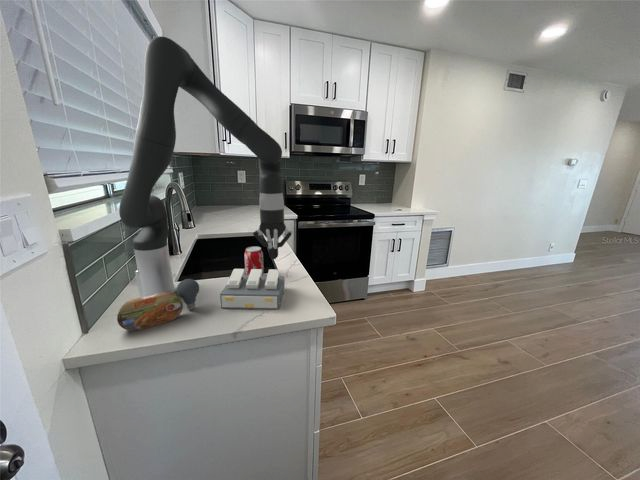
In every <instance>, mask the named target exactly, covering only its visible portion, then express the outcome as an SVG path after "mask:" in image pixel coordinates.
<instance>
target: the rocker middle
mask: <svg viewBox="0 0 640 480" xmlns="http://www.w3.org/2000/svg"><path fill="white" fill-rule="evenodd" d="M261 276H262V269H251V272H250V275H249V277H248V278H247V283H246V289H258V286H259V283H260V280H261Z"/></svg>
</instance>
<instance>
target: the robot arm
mask: <svg viewBox="0 0 640 480" xmlns="http://www.w3.org/2000/svg"><path fill="white" fill-rule="evenodd" d="M144 54H145V55H144V72H143V86H142V87H143V90H142V99H141V102H140V107H139V115H138V121H137V124H136V125H137V126H136V129H135V135H134V136H135V137H134V140H133V147H132V148H133V149H132V156H131V161H130V166H129V170H128V175H127V180H126V183H125V186H124V190H123V193H122V196H121V199H120V202H119V203H120V204H119V207H118V210H119V217H120V220H121V222H122V224H123V225H124V226H126V227H128V228H129V229H140V231H139V233H138V234H137V235H136V236H135V237H134V238H133V239H132V247H133V252H134V253H133V254H134V256H135V257H134V258H135V263H136V267H137V268H136V269H137V270H135V272H134V273H135V280H136V284H137V288H138V289H137V290H138V293H139V294H138V295H139V298H141V297H146V296H150V295H154V294H159V293H163V292H172V293H175V284H174V278H173V271H172V270H173V269H172V266H171V265H172V264H171V258H170V252H169V246H168V237H169V234H170V233H169V224H168V223H169V222H168V214H167V209H166V206H165V204H164V202H163V200H162V199H160V198H159V197H158V196H156V195H152V192H153V189H154V186H155V185H156V183H157V182H158V180H159V179H160V178H161V176H162V175H163V174H164V173H165V172H166V170H167V169H168V167H169V166H170V165H171V162H172V159H173V155H174V151H175V150H174V149H175V146H176V140H177V129H176V121H175V120H176V119H175V103H176V100H177V99H176V98H177V95H178V92H179V91H178V90H179V88H180V89H182V90H184V91H185V92H187V93H188V94H189V95H191V96H192V97H193V98H195V100H197V101H198V102H199V103H200V104H202V106H203V107H204V108H206V110H207V111H208V112H209V113H210V114H211V115H212V116H213V117H214V119H215V120H216V121H217V122H218V123H219V124H220V125H221V126H222V127H223V128H224V129H225V130H226V131H227V132H228V133H229V134H231V136H233V137H234V138H235V139H236V140H237V141H239V142H240V143H241V144H243V145H245V147H246V148H248V149H249V150H250V151H251V153H253V155H255V156H256V158H258V169H259V177H258V179H259V181H258V182H259V183H258V184H259V185H258V186H259V198H258V199H259V200H258V201H259V202H258V203H259V218H260V225H259V228H258V229H256V230H255V231H254V232H253V233H252V235H253V236H254V237H255V238H256V240H258V242H259V243H260V244H261V245H262V246H263V248H268V257H269V258H270V259H271V260H276V259H277V258H278V256H279V248H282V247H283V246H284V245H285V244H286V242H288V240H289V239H290V238H291V236H292V234H293V231H291V230H289V229H287V225H286V224H285V203H284V195H283V194H284V193H283V177H282V174H281V173H282V170H281V169H282V167H281V165H282V163H281V161H282V155H283V150H282V147H281V145H280V144H279V142H277V140H276V139H274V138H273V137H272V136H271V135H270V134H268V132H266V131H265V130H264V129H262V128H261V127H260V126H259V125H258V124H257V123H256V122H255V121H254V119H252V118H251V117H250V116H249V115H248V114H247V113H246V112H245V111H244V110H242V109H241V108H240V107H239V106H238V105H237V104H236V103H235V102H234V101H232V100H231V99H230V98H229V97H228V96H227V95H226V94H225V93H224V92H222V91H221V89H219V88H218V87H217V86H216V85H215V84H214V83H213V82H212V81H211V80H210V79H209V78H208V77H207V75H206V74H205V73H204V71H202V69H201V68H200V67H199V65H198V64H197V63H196V61H195V60H194V59H193V58H192V57H191V55H190V54H189V52H188V50H186V49H184V47H182V46H181V45H180V44H179V43H177V42H176V41H174V40H173V39H171V38H169V37H166V36H156V37H153V39H152V40H150V41H149V43H148V44H147V46H146V50H145V53H144ZM282 235H284V237H283V238H282V240H281V241H280V242H279V240H280V237H281V236H282Z"/></svg>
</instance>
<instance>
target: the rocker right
mask: <svg viewBox="0 0 640 480" xmlns="http://www.w3.org/2000/svg"><path fill="white" fill-rule="evenodd" d="M280 271H281V270H280V269H272V268H271V269H269V268H268V272H267V277H266V282H265V289H277V284H278V281H279V276H281V275H280V273H281V272H280Z"/></svg>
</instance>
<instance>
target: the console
mask: <svg viewBox="0 0 640 480" xmlns="http://www.w3.org/2000/svg"><path fill="white" fill-rule="evenodd" d="M267 275H268V274H267ZM267 275H266V274H265V275H264V274H263V275H262V276H261V280H260V283H259V286H258V289H246V283H247V278H248V277H249V275H246V274H244V277H243V280H242V282H241V284H240V287H239V288H227V284H226V285H225V286H224V288H223V289H222V290H221V291H220V293H219V296H220V297H219V298H220V307H221V309H241V310H243V309H249V310H250V309H251V310H280V306H281V303H282V300H283V296H284V291H285V275H279V281H278V284H277V289H265V282H266V277H267Z"/></svg>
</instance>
